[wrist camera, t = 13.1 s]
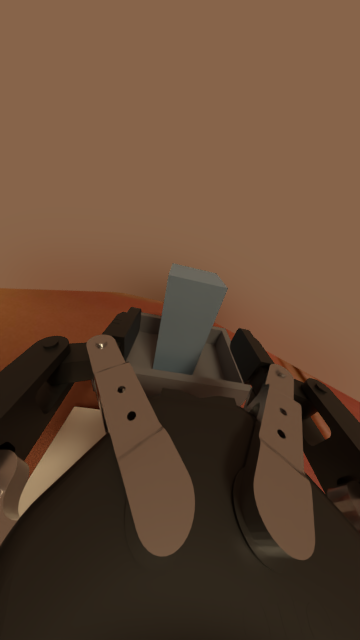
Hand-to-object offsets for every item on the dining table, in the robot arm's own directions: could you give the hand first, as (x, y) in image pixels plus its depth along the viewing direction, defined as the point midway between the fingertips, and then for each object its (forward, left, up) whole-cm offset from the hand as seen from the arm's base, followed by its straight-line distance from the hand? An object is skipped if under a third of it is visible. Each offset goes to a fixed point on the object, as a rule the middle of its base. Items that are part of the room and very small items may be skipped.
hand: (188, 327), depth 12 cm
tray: (0, +5, -9) cm, 11 cm away
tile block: (0, +4, -9) cm, 10 cm away
